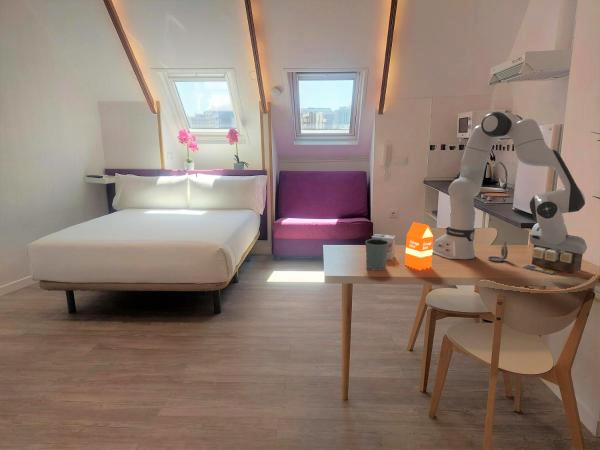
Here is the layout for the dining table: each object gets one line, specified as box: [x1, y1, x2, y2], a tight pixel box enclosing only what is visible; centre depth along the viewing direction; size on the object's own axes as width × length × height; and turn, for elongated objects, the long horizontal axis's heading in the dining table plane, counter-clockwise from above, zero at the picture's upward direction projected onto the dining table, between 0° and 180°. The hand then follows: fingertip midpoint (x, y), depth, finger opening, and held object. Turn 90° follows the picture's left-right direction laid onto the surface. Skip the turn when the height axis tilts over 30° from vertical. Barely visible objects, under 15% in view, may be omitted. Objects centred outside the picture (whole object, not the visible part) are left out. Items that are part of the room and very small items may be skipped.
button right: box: [560, 251, 574, 263], centre depth 179 cm, size 4×7×4 cm, turn 128°
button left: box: [531, 246, 548, 259], centre depth 186 cm, size 4×7×4 cm, turn 128°
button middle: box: [545, 249, 560, 261], centre depth 182 cm, size 4×7×4 cm, turn 128°
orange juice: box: [404, 221, 434, 271], centre depth 184 cm, size 8×9×20 cm
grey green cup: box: [365, 238, 388, 271], centre depth 184 cm, size 10×10×12 cm
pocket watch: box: [487, 240, 508, 263], centre depth 194 cm, size 8×8×10 cm
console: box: [531, 244, 584, 274], centre depth 185 cm, size 17×8×10 cm, turn 38°
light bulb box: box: [371, 233, 396, 261], centre depth 200 cm, size 11×7×11 cm, turn 68°
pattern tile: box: [522, 264, 558, 276], centre depth 181 cm, size 12×5×1 cm, turn 38°
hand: (560, 252), depth 173 cm, fingers closed
